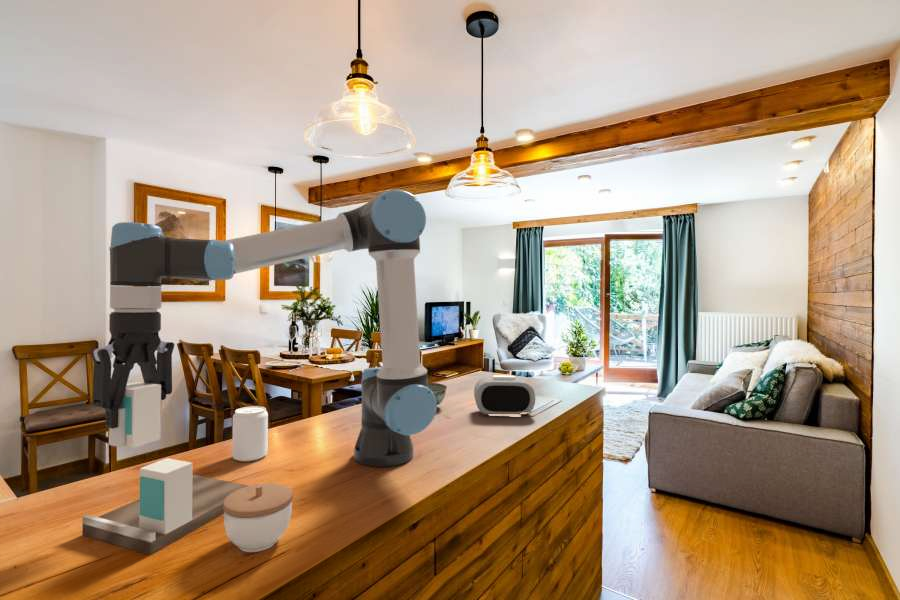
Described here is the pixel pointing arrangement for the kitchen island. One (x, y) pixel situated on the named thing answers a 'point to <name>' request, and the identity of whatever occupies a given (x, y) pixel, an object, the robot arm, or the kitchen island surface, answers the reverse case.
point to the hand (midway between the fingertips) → (134, 440)
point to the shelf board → (126, 532)
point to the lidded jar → (257, 515)
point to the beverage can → (250, 433)
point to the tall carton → (141, 413)
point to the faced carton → (165, 495)
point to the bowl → (438, 391)
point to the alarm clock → (504, 395)
